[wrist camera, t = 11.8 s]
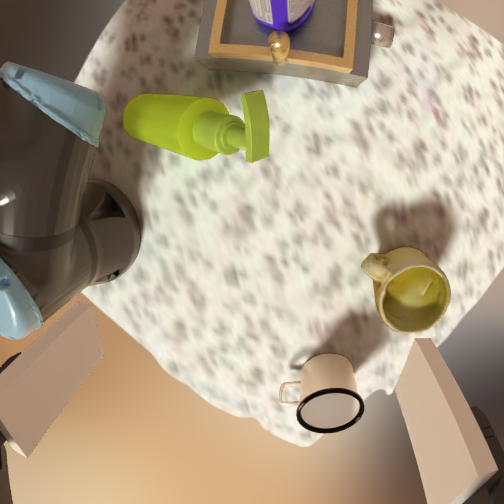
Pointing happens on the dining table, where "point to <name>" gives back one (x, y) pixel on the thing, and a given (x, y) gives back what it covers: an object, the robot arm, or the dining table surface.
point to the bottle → (281, 12)
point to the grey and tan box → (293, 41)
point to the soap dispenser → (199, 125)
